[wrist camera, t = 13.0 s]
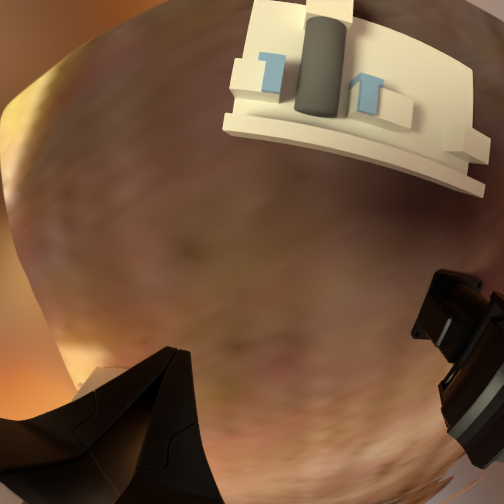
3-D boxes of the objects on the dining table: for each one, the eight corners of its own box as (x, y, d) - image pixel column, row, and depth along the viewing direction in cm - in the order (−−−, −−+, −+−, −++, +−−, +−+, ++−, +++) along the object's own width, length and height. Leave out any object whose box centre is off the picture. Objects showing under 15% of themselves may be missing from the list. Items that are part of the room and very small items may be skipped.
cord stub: (345, 8, 13) (353, -9, 10) (333, 120, 16) (343, 114, 13) (306, 0, 13) (310, -19, 10) (290, 111, 16) (293, 103, 13)
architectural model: (150, 389, 26) (126, 439, 19) (103, 384, 27) (76, 426, 20) (138, 366, 25) (109, 416, 18) (91, 363, 26) (59, 404, 19)
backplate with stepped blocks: (465, 72, 14) (493, 63, 10) (456, 191, 17) (487, 199, 13) (255, 5, 14) (251, -23, 10) (231, 135, 18) (220, 128, 14)
